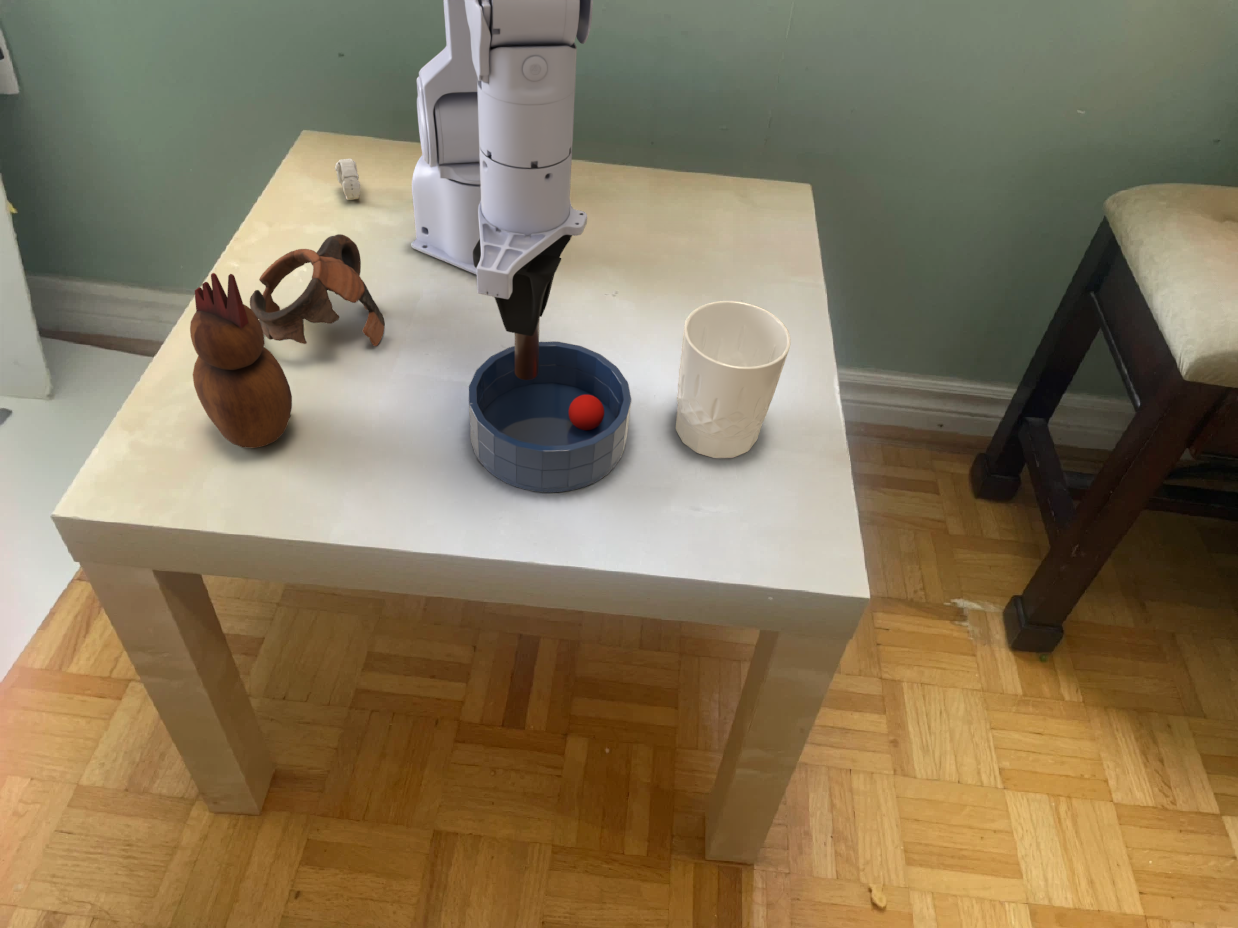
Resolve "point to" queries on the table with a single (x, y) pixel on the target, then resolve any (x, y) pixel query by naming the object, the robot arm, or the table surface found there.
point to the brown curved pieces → (316, 291)
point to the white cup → (728, 376)
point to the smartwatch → (348, 178)
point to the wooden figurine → (237, 369)
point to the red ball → (586, 412)
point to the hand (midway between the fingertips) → (524, 321)
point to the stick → (527, 355)
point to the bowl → (547, 418)
